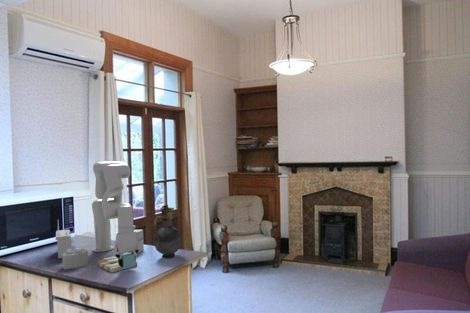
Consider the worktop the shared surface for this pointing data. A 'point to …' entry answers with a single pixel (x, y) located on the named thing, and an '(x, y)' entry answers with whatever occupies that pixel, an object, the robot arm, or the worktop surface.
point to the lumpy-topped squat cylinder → (75, 258)
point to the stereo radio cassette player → (63, 241)
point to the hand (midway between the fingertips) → (127, 264)
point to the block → (128, 260)
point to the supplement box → (139, 239)
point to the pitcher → (167, 234)
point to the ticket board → (111, 264)
